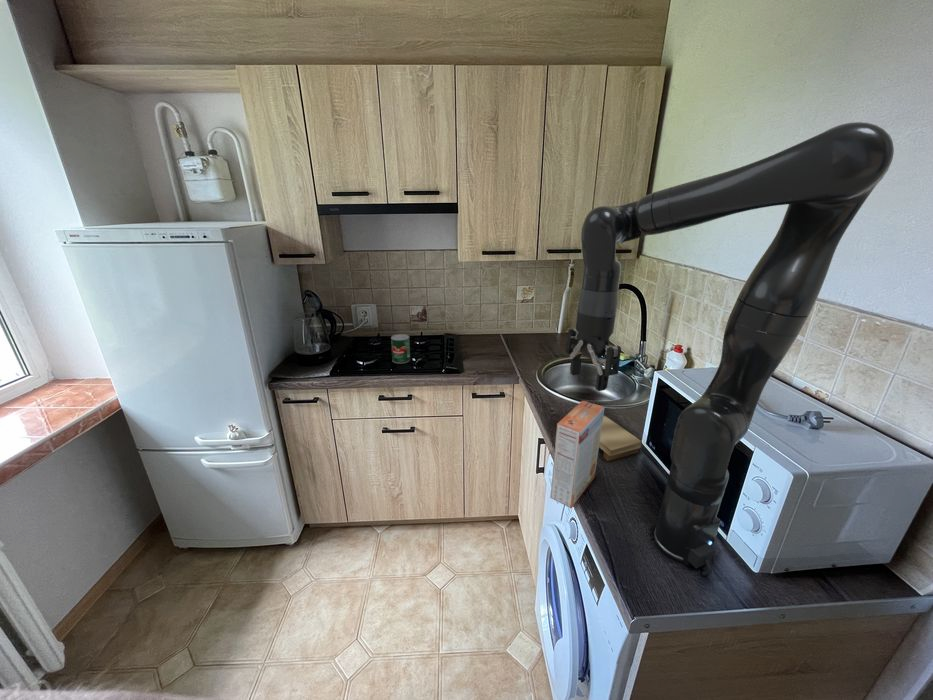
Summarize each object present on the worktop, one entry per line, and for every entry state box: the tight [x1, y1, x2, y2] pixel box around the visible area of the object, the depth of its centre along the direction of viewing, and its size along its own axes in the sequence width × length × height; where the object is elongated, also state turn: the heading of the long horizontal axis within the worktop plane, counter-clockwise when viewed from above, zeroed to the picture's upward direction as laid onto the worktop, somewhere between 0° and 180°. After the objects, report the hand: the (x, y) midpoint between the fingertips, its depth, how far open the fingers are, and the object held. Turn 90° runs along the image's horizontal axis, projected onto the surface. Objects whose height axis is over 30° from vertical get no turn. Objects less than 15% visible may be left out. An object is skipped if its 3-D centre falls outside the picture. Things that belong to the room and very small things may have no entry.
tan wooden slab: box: [599, 415, 643, 462], centre depth 112 cm, size 17×11×4 cm, turn 22°
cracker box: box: [550, 400, 605, 509], centre depth 90 cm, size 14×6×21 cm, turn 141°
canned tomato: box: [390, 333, 411, 365], centre depth 167 cm, size 8×8×11 cm
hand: (587, 381), depth 84 cm, fingers open, 8 cm apart
